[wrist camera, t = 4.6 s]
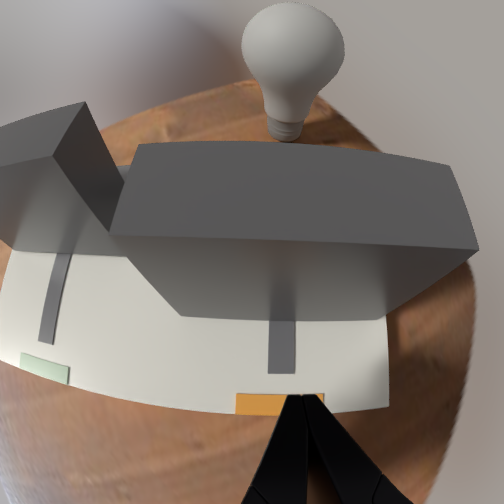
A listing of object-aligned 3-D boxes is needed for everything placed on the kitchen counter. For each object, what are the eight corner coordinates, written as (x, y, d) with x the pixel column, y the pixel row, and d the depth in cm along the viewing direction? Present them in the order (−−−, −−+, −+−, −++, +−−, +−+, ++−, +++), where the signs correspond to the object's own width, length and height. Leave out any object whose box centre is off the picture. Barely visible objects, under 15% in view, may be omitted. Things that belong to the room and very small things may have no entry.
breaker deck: (377, 405, 13) (402, 407, 10) (3, 358, 13) (-26, 350, 11) (358, 200, 19) (373, 171, 16) (45, 199, 19) (27, 177, 16)
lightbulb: (336, 138, 21) (369, 14, 11) (292, 180, 19) (317, 27, 9) (276, 106, 23) (284, -11, 13) (226, 140, 21) (217, 3, 11)
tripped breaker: (376, 320, 13) (479, 249, 6) (180, 316, 13) (108, 235, 6) (370, 264, 15) (449, 165, 7) (187, 259, 15) (138, 144, 8)
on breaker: (128, 256, 15) (52, 155, 8) (14, 250, 15) (-58, 184, 8) (139, 209, 16) (85, 101, 9) (28, 213, 16) (-34, 141, 9)
